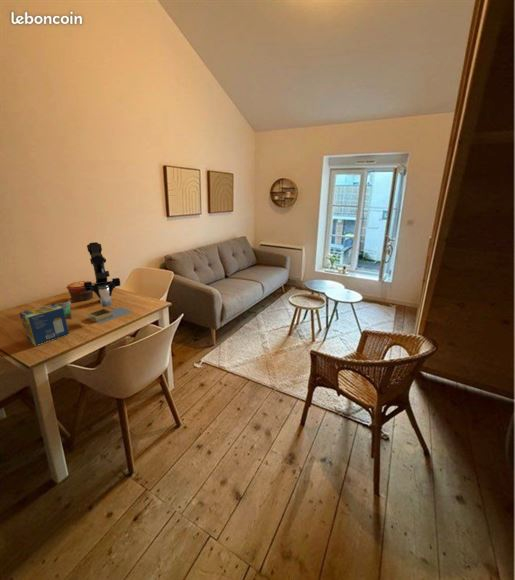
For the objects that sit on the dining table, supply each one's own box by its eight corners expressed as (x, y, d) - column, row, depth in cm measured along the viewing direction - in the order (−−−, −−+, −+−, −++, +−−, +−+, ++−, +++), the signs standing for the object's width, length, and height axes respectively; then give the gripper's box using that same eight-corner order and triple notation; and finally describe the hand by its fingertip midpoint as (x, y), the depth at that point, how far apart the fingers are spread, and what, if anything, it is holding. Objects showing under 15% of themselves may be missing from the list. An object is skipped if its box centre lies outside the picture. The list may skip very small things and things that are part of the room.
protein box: (27, 341, 143) (18, 312, 138) (60, 329, 155) (54, 303, 150) (35, 346, 138) (27, 317, 133) (69, 334, 150) (63, 307, 145)
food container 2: (64, 301, 197) (60, 286, 194) (83, 293, 212) (80, 280, 208) (82, 303, 193) (78, 288, 189) (100, 295, 207) (98, 281, 204)
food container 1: (54, 324, 162) (49, 307, 159) (49, 321, 166) (45, 305, 162) (77, 317, 171) (73, 301, 168) (73, 314, 175) (69, 299, 172)
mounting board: (87, 320, 167) (86, 318, 166) (120, 308, 183) (120, 306, 183) (99, 325, 159) (99, 323, 159) (133, 313, 176) (133, 311, 175)
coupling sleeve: (99, 305, 168) (96, 285, 164) (110, 302, 172) (106, 283, 168) (103, 307, 164) (99, 288, 160) (113, 305, 168) (110, 285, 164)
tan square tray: (88, 318, 166) (87, 313, 165) (104, 313, 173) (103, 308, 172) (96, 322, 161) (95, 317, 160) (112, 316, 168) (112, 311, 167)
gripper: (80, 268, 159) (84, 293, 154) (117, 264, 168) (122, 287, 163) (83, 279, 168) (87, 302, 163) (117, 274, 177) (122, 296, 172)
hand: (105, 296), depth 165 cm, fingers closed on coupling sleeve, 6 cm apart
